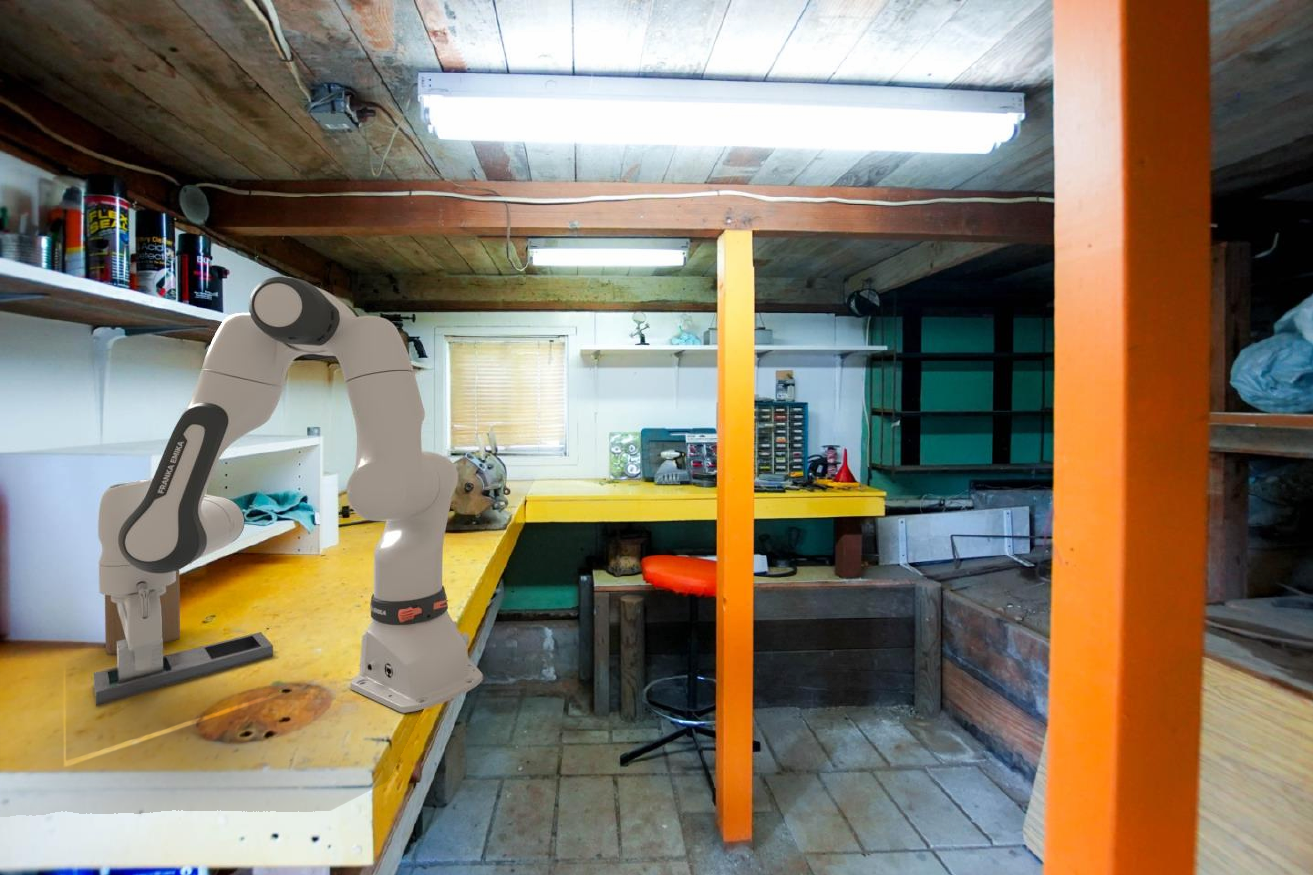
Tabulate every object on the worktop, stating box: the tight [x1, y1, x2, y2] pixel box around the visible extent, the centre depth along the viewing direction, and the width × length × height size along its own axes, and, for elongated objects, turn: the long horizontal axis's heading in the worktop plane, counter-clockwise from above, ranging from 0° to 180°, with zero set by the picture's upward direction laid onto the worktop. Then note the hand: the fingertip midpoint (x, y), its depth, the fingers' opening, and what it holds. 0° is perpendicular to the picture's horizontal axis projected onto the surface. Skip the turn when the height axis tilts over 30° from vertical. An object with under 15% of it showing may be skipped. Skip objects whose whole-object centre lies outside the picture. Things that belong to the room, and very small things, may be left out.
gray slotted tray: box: [93, 631, 274, 706], centre depth 88 cm, size 9×22×3 cm, turn 140°
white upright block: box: [116, 639, 164, 684], centre depth 83 cm, size 5×5×7 cm
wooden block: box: [104, 569, 181, 655], centre depth 99 cm, size 10×10×20 cm
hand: (140, 658), depth 83 cm, fingers open, 8 cm apart
